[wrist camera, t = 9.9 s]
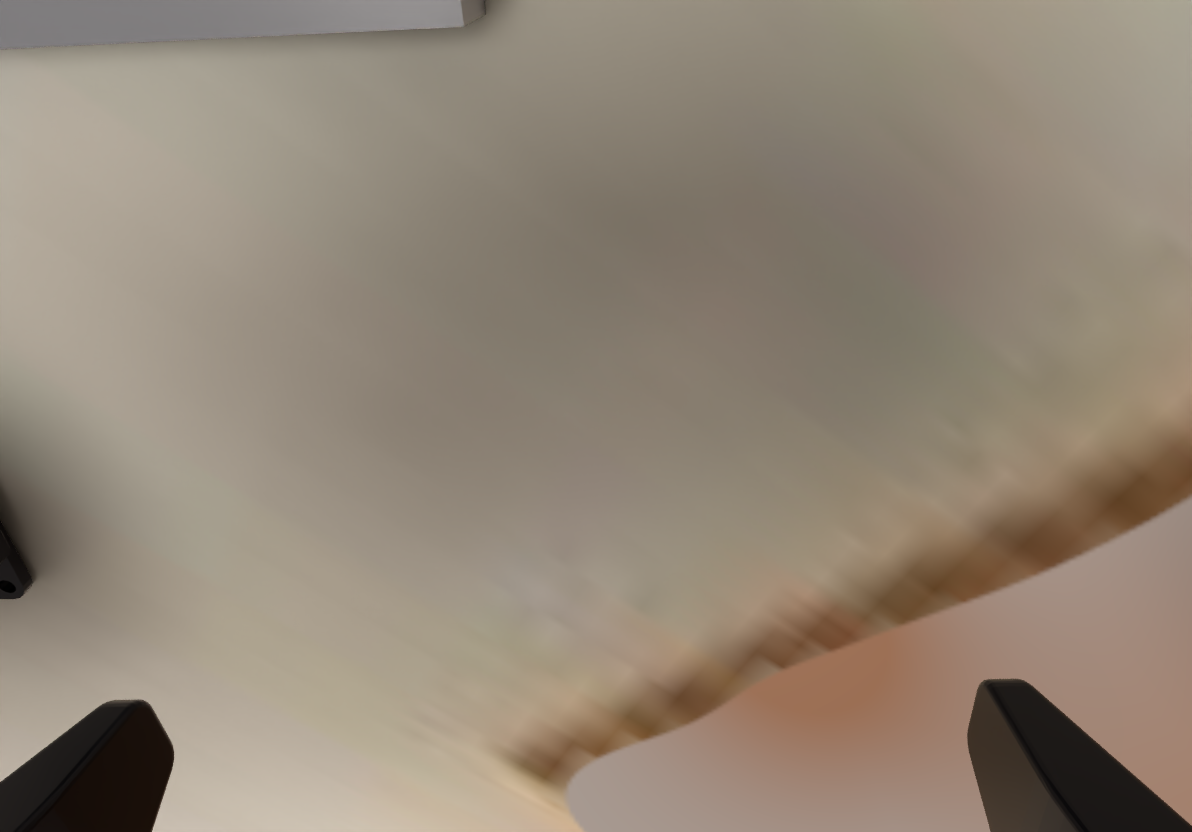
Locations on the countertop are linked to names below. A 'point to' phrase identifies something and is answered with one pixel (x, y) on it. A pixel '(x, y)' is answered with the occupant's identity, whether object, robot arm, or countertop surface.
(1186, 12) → the countertop surface
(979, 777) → the robot arm
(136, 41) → the charcoal tray
